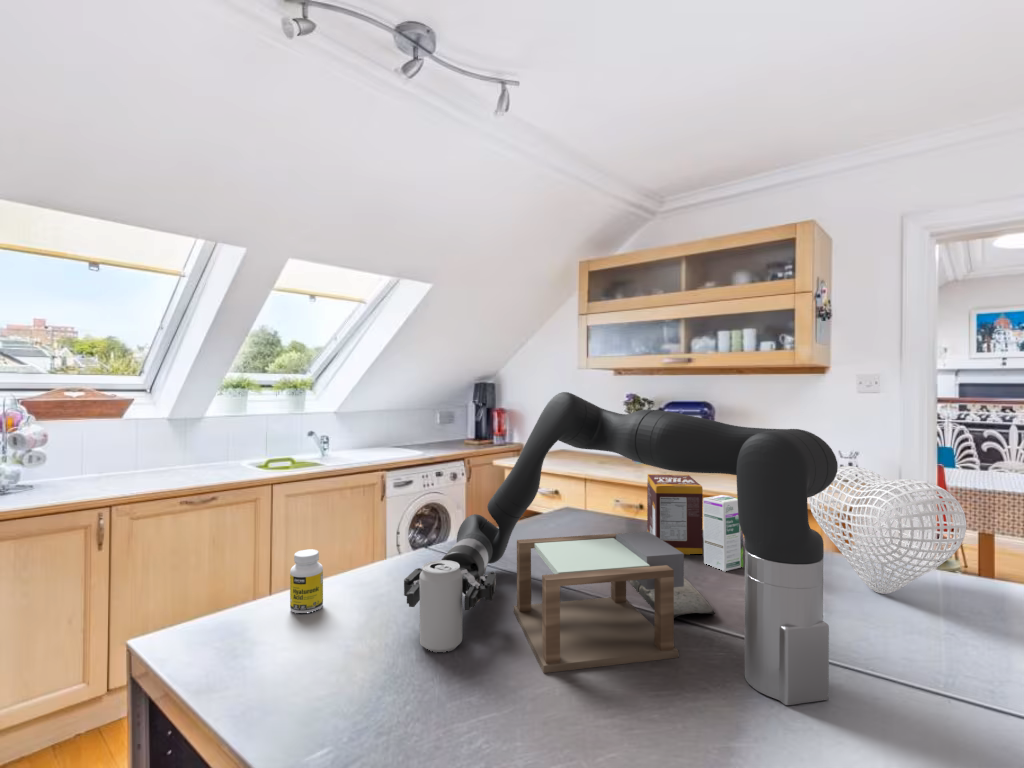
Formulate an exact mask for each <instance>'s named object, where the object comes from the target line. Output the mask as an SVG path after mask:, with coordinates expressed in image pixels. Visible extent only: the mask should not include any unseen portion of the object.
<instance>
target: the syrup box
mask: <svg viewBox="0 0 1024 768" xmlns="http://www.w3.org/2000/svg"><path fill="white" fill-rule="evenodd" d="M703 563H704V565H706V564H707V565H706V566H708V565H710V566H712V567H711V568H713V567H714V568H713V569H715V568H717V569H716V570H718V569H720V570H719V571H721V570H722V572H723V573H726V571H727V572H728V571H732V570H737V569H741V567H742V568H744V535H743V532H742V530H741V527H740V524H739V518H738V499H737V497H736V496H732V495H724V494H720V495H715V496H709V497H703ZM710 566H709V567H710Z"/></svg>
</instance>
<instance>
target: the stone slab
mask: <svg viewBox="0 0 1024 768" xmlns="http://www.w3.org/2000/svg"><path fill="white" fill-rule="evenodd" d="M628 583H629V584H630V585H631V586H632V588H633V587H634V588H635V589H636V590H635V589H634V588H633V589H634V590H635V591H636V592H637V593H638V592H639V593H638V594H639V595H640V597H642V599H643V600H644V601H645V600H646V601H645V603H647V604H648V605H649V606H650V607H651V608H652V609H653V610H654V589H650V590H647V589H645V588H644V587H643V586H642V585H641V584H640V583H638V582H637V581H636V580H630V581H628ZM689 614H690V615H691V614H710V615H712V616H713V615H714V616H715V614H716V612H715V610H714V608H712V605H710V604H709V602H708V601H707V600H706V599H705V597H704V596H703V594H701V593H700V592H699V590H697V588H695V587H694V586H693V584H692V583H691V582H690V581H689V580H688V579H687V578H686V577H684V587H674V619H675V618H677V617H679V616H683V615H689Z"/></svg>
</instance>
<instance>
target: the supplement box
mask: <svg viewBox="0 0 1024 768" xmlns="http://www.w3.org/2000/svg"><path fill="white" fill-rule="evenodd" d="M646 483H647V489H646V491H647V496H646V498H647V499H646V500H647V501H646V502H647V508H646V509H647V511H646V514H647V515H646V517H647V522H646V523H647V525H646V527H647V529H646V530H647V531H646V532H650V533H652V534H653V535H655V536H656V537H658V538H660V539H661V540H663V541H664V542H666V543H668V544H669V545H671V546H672V547H674V548H676V549H677V550H679V551H680V552H682V553H684V555H690V554H703V555H704V531H703V498H704V496H703V491H704V489H703V486H702V485H701V484H700V483H698V481H696V480H695V479H694V478H693V477H691V475H689V474H670V473H669V474H667V473H665V474H663V473H660V474H658V473H657V474H656V473H647V482H646Z"/></svg>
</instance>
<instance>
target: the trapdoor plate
mask: <svg viewBox="0 0 1024 768" xmlns="http://www.w3.org/2000/svg"><path fill="white" fill-rule="evenodd" d="M620 533H621V532H620ZM534 551H535V552H536V553H537V554H538V556H539V557H540V558H541V559H542V561H543V562H544V563H545V565H546V566H547V567H548V568H549V570H550V571H551V572H552V574H562V573H575V572H588V571H600V570H613V569H626V568H639V567H651V566H664V565H667V566H669V567H670V568H672V569H673V570H674V587H684V578H685V577H684V576H685V575H684V574H685V567H684V565H685V563H684V562H685V554H684V553H682V552H680V551H679V550H677V549H676V548H674V547H672V546H671V545H669V544H668V543H666V542H664V541H663V540H661V539H660V538H658V537H656V536H655V535H653V534H652V533H650V532H647V531H640V532H636V531H635V532H623V533H621V534H616V539H614V538H606V539H591V540H576V541H561V542H546V543H535V548H534ZM636 581H637V582H638V583H640V584H641V585H642V586H643V587H644V588H645V589H647V590H650V589H654V582H655V578H654V579H642V580H636Z"/></svg>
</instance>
